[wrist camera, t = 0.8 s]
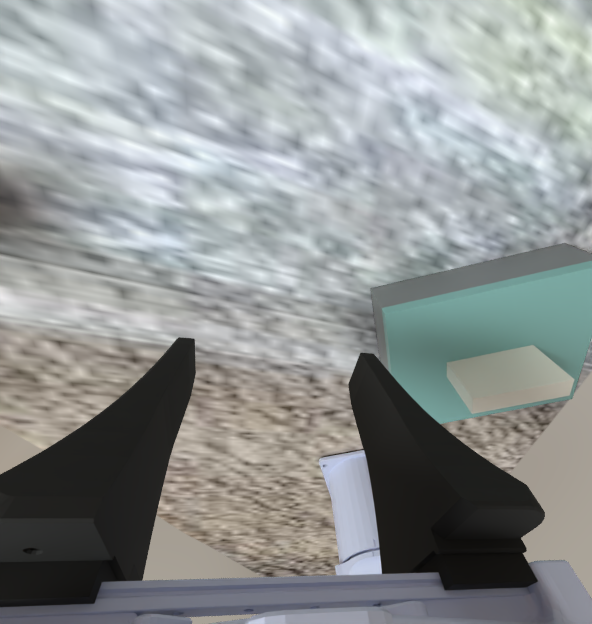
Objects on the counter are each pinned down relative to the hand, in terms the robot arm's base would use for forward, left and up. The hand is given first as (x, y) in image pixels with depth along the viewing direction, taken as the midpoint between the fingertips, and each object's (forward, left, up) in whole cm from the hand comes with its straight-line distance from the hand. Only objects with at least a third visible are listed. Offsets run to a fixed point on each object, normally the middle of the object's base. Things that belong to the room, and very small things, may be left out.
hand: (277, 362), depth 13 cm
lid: (-9, -13, -7) cm, 18 cm away
